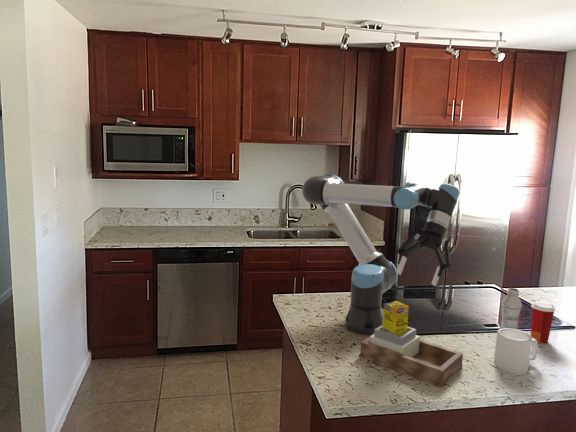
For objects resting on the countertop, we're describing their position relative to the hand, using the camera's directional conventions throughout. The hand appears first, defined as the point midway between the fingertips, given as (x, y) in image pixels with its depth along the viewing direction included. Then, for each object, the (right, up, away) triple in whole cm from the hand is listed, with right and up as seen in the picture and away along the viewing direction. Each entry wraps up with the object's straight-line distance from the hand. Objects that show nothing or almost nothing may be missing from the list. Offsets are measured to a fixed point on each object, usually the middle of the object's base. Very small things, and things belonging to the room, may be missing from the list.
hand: (415, 279), depth 165 cm
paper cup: (+47, -24, +7) cm, 53 cm away
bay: (-5, -25, -12) cm, 29 cm away
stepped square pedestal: (-10, -23, -9) cm, 27 cm away
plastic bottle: (+35, -24, +4) cm, 42 cm away
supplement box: (-10, -18, -9) cm, 22 cm away
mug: (+29, -27, -13) cm, 41 cm away
